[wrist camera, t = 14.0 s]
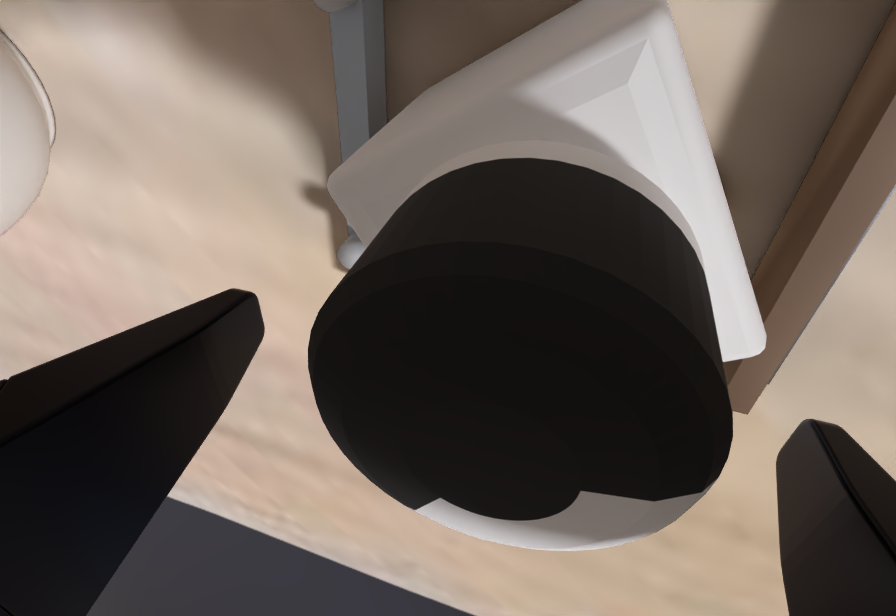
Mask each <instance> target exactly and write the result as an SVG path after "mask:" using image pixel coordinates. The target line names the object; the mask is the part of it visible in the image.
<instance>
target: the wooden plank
mask: <svg viewBox="0 0 896 616" xmlns="http://www.w3.org/2000/svg"><path fill="white" fill-rule="evenodd" d="M895 185H896V3H895V5H894V7H893V9H892V11H891V13H890V15H889V17H888V19H887V21H886V22H885V24H884V26H883V28H882V30H881V32H880V34H879V36H878V38H877V40H876V42H875V44H874V46H873V48H872V49H871V51H870V53H869V55H868V57H867V59H866V61H865V63H864V65H863V67H862V69H861V71H860V73H859V74H858V76H857V78H856V80H855V82H854V84H853V86H852V88H851V90H850V92H849V94H848V96H847V98H846V100H845V101H844V103H843V105H842V107H841V109H840V111H839V113H838V115H837V117H836V119H835V121H834V123H833V125H832V127H831V128H830V130H829V132H828V134H827V136H826V138H825V140H824V142H823V144H822V146H821V148H820V150H819V152H818V154H817V155H816V157H815V159H814V161H813V163H812V165H811V167H810V169H809V171H808V173H807V175H806V177H805V179H804V180H803V182H802V184H801V186H800V188H799V190H798V192H797V194H796V196H795V198H794V200H793V202H792V204H791V206H790V207H789V209H788V211H787V213H786V215H785V217H784V219H783V221H782V223H781V225H780V227H779V229H778V231H777V233H776V234H775V236H774V238H773V240H772V242H771V244H770V246H769V248H768V250H767V252H766V254H765V256H764V258H763V260H762V261H761V263H760V265H759V267H758V269H757V271H756V273H755V275H754V277H753V279H752V281H751V285H752V288H753V291H754V295H755V298H756V302H757V305H758V308H759V312H760V315H761V318H762V322H763V325H764V329H765V332H766V335H767V337H766V345H765V349H764V350H763V351H762V352H761V353H760V354H758V355H755V356H753V357H749V358H743V359H738V360H732V361H726V362H723V366H724V371H725V376H726V381H727V387H728V392H729V397H730V402H731V408H732V411H735V412H739V413H743V414H748V413H749V411H750V410H751V408H752V407H753V405H754V404H755V402H756V401H757V399H758V397H759V396H760V394H761V393H762V391H763V390H764V388H765V387H766V385H767V384H768V382H769V380H770V379H771V377H772V376H773V374H774V373H775V371H776V370H777V368H778V366H779V365H780V363H781V362H782V360H783V359H784V357H785V356H786V354H787V352H788V351H789V349H790V348H791V346H792V345H793V343H794V342H795V340H796V338H797V337H798V335H799V334H800V332H801V331H802V329H803V328H804V326H805V324H806V323H807V321H808V320H809V318H810V317H811V315H812V314H813V312H814V311H815V309H816V307H817V306H818V304H819V303H820V301H821V300H822V298H823V297H824V295H825V293H826V292H827V290H828V289H829V287H830V286H831V284H832V283H833V281H834V279H835V278H836V276H837V275H838V273H839V272H840V270H841V269H842V267H843V265H844V264H845V262H846V261H847V259H848V258H849V256H850V255H851V253H852V251H853V250H854V248H855V247H856V245H857V244H858V242H859V241H860V239H861V237H862V236H863V234H864V233H865V231H866V230H867V228H868V227H869V225H870V224H871V222H872V220H873V219H874V217H875V216H876V214H877V213H878V211H879V210H880V208H881V206H882V205H883V203H884V202H885V200H886V199H887V197H888V196H889V194H890V192H891V191H892V189H893V188H894V186H895Z"/></svg>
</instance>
